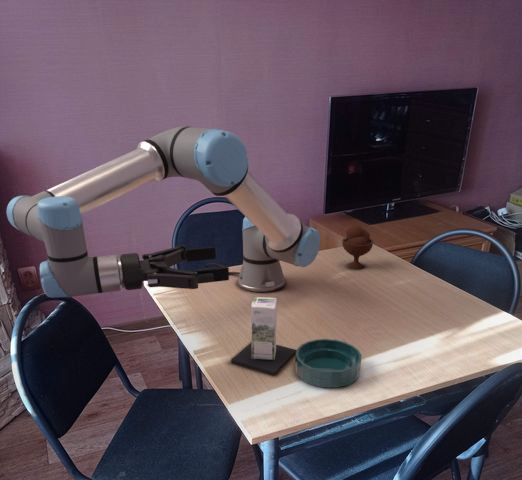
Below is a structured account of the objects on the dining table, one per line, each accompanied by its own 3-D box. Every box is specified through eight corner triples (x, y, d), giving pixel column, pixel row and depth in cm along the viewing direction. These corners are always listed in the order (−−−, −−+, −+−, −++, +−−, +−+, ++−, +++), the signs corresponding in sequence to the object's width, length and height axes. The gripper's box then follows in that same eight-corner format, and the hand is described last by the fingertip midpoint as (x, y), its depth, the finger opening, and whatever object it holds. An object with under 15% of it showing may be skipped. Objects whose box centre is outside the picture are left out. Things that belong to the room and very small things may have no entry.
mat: (231, 363, 123) (230, 359, 123) (255, 342, 132) (255, 338, 132) (274, 375, 118) (274, 372, 118) (296, 353, 127) (296, 349, 127)
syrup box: (276, 349, 127) (277, 296, 120) (274, 361, 122) (275, 306, 115) (254, 348, 127) (253, 295, 120) (251, 360, 122) (250, 306, 115)
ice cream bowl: (364, 274, 174) (368, 231, 167) (335, 268, 179) (338, 226, 172) (375, 264, 182) (380, 223, 175) (347, 259, 187) (350, 219, 180)
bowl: (284, 377, 117) (284, 361, 115) (311, 349, 129) (311, 333, 127) (346, 395, 111) (347, 378, 109) (368, 364, 123) (370, 348, 120)
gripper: (121, 269, 117) (211, 260, 122) (127, 313, 96) (235, 300, 101) (116, 237, 113) (209, 229, 118) (121, 277, 93) (234, 265, 98)
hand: (221, 262), depth 110 cm, fingers open, 13 cm apart
